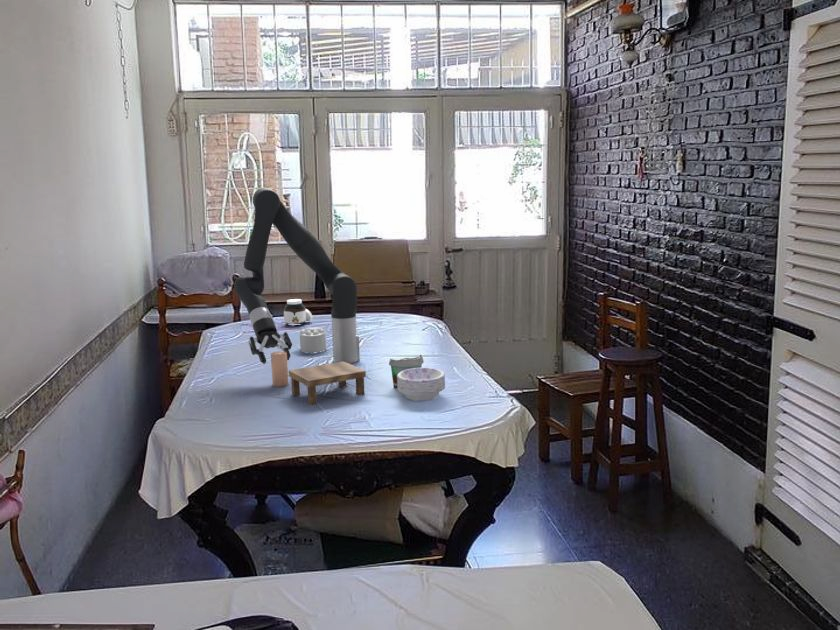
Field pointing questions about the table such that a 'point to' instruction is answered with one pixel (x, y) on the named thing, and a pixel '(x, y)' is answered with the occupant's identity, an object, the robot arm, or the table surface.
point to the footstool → (326, 378)
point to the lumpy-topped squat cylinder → (312, 340)
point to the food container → (404, 366)
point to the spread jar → (296, 312)
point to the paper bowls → (421, 383)
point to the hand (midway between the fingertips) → (276, 360)
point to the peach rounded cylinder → (279, 368)
